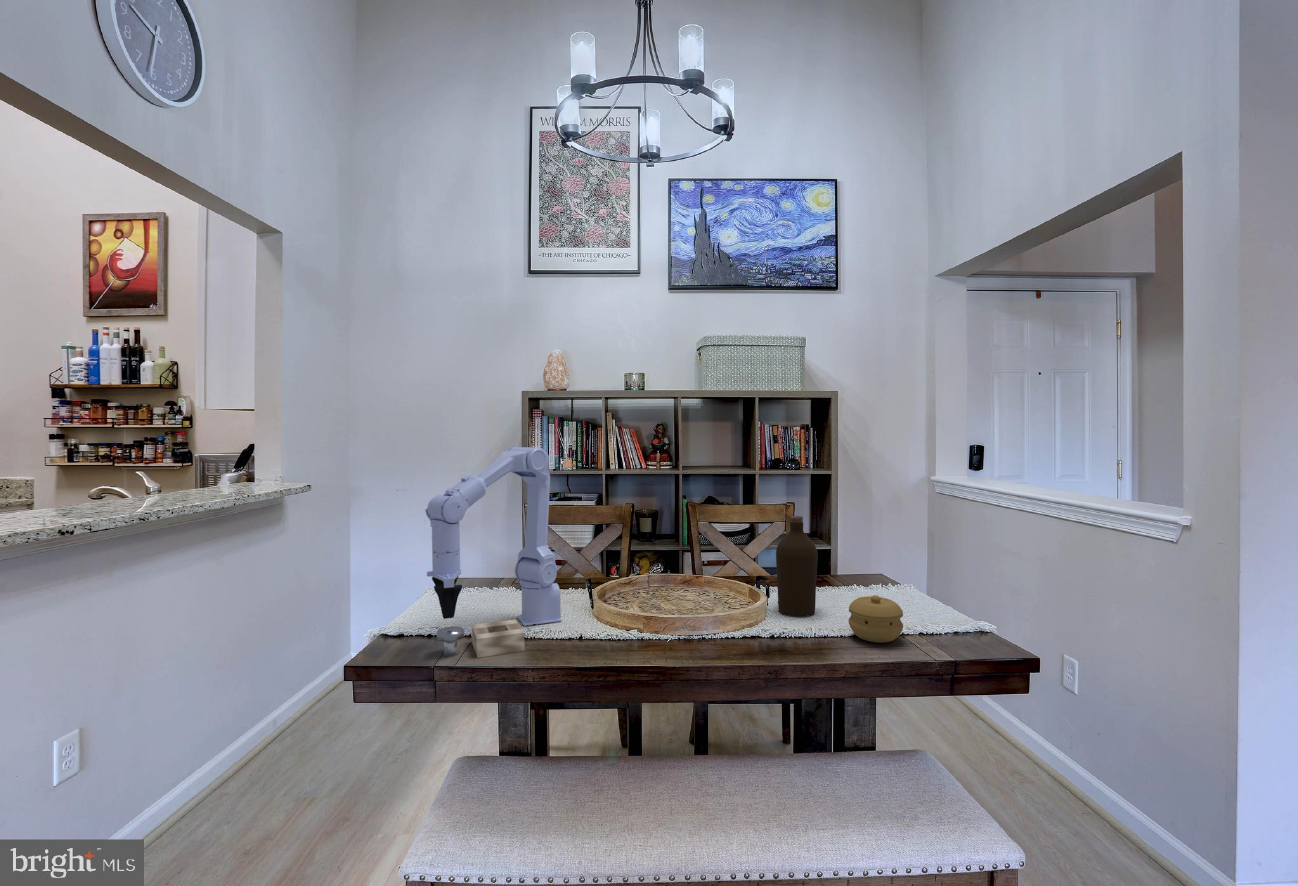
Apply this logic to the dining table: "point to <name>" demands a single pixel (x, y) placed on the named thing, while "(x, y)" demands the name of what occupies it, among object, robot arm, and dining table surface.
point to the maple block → (497, 638)
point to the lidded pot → (875, 619)
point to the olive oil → (796, 572)
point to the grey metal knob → (450, 638)
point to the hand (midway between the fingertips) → (447, 612)
